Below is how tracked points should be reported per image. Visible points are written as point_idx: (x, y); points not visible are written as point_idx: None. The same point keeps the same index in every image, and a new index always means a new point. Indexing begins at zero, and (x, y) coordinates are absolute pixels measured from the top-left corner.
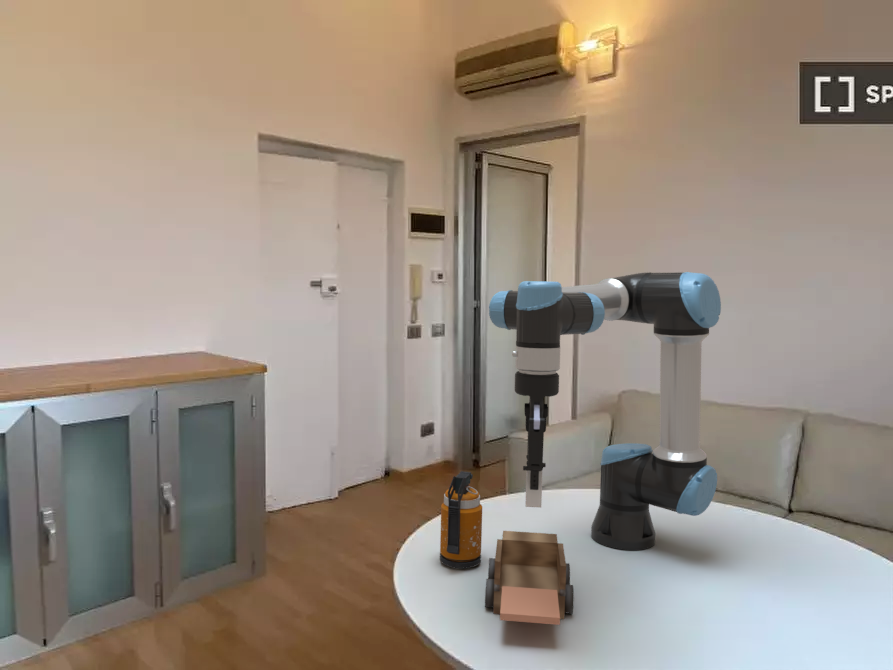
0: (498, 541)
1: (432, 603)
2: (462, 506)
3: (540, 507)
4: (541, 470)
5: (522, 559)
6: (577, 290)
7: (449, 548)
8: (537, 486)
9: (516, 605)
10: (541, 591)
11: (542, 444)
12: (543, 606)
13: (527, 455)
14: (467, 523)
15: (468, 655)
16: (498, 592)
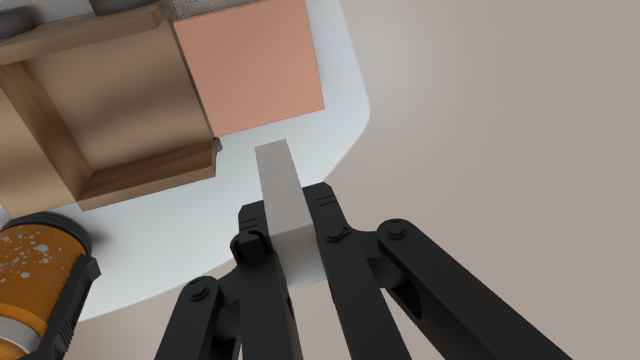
0: (96, 205)
1: (230, 218)
2: (30, 334)
3: (285, 141)
4: (347, 224)
5: (65, 136)
6: None
7: (95, 274)
8: (332, 192)
9: (284, 89)
10: (199, 56)
11: (535, 332)
12: (267, 37)
13: (239, 343)
14: (41, 292)
15: (356, 121)
16: (213, 137)
